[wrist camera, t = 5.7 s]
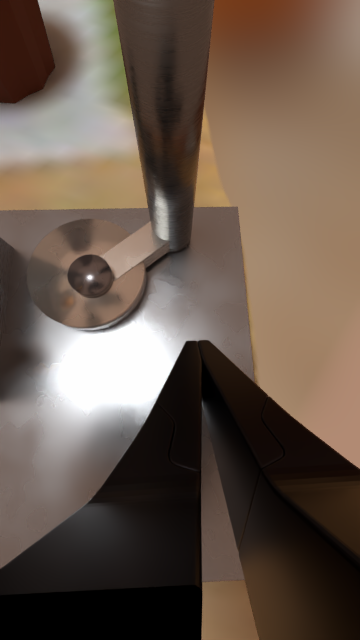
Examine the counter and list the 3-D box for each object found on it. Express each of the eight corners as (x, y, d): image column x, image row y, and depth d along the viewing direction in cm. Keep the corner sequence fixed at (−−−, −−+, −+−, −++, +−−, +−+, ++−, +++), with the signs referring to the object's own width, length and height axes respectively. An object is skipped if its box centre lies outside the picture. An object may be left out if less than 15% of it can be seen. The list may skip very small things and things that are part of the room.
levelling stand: (265, 561, 14) (388, 818, 6) (-44, 574, 13) (-371, 866, 5) (233, 217, 19) (276, 98, 11) (9, 221, 18) (-118, 101, 10)
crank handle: (212, 251, 16) (299, -62, 5) (77, 353, 15) (-300, 260, 3) (148, 182, 18) (92, -200, 6) (17, 270, 16) (-419, -25, 4)
